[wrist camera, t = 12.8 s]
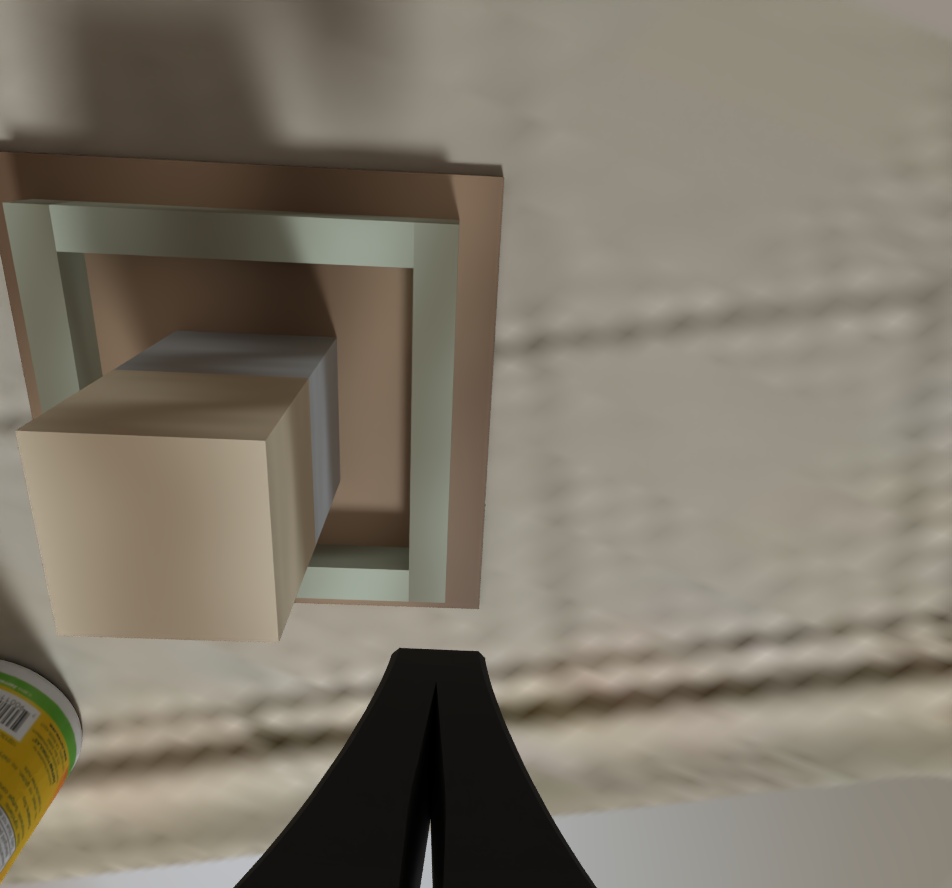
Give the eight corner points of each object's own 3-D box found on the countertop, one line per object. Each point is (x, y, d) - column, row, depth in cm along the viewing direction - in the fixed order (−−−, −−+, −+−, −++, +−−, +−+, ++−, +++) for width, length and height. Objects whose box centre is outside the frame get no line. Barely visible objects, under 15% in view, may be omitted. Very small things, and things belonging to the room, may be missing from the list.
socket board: (503, 176, 17) (506, 179, 16) (478, 604, 22) (479, 634, 20) (-15, 150, 17) (-56, 150, 15) (70, 591, 21) (44, 619, 20)
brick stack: (337, 337, 18) (265, 440, 12) (340, 480, 20) (278, 642, 13) (177, 330, 18) (15, 430, 12) (192, 474, 20) (57, 635, 13)
